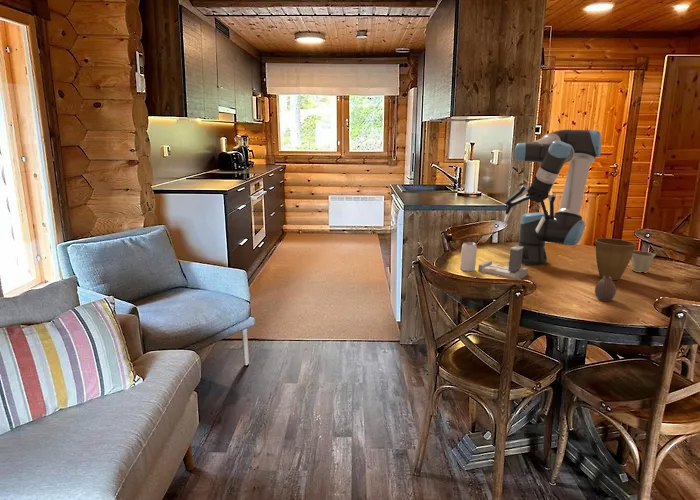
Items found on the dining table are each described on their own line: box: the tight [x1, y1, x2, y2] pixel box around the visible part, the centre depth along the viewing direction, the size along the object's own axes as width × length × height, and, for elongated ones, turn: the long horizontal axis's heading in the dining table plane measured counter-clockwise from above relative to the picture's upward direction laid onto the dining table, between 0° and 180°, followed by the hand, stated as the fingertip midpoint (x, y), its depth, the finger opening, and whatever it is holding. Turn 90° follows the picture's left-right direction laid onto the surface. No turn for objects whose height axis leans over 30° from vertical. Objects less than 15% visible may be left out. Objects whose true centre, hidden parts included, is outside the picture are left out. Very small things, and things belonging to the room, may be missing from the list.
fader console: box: [477, 260, 529, 280], centre depth 212 cm, size 18×10×3 cm, turn 51°
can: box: [459, 241, 478, 272], centre depth 215 cm, size 6×6×12 cm
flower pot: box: [631, 250, 656, 272], centre depth 219 cm, size 9×9×9 cm
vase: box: [594, 276, 617, 302], centre depth 181 cm, size 7×7×9 cm
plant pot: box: [595, 237, 637, 281], centre depth 207 cm, size 15×15×16 cm
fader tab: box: [508, 245, 523, 272], centre depth 208 cm, size 3×6×12 cm, turn 140°
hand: (520, 226), depth 203 cm, fingers open, 13 cm apart
